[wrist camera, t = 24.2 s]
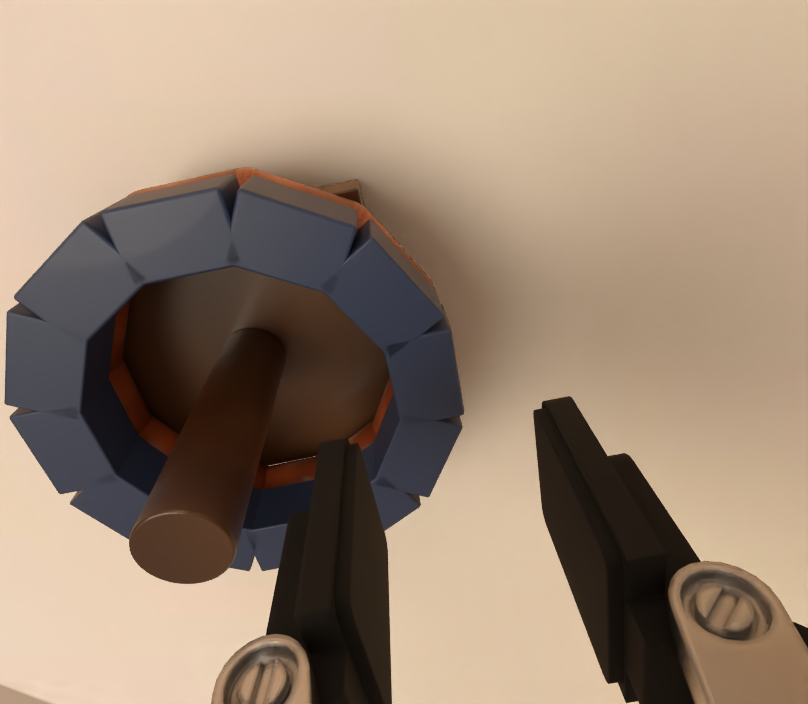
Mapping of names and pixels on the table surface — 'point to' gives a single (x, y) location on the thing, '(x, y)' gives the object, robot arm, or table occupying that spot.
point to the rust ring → (167, 437)
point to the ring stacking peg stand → (238, 399)
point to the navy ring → (203, 252)
